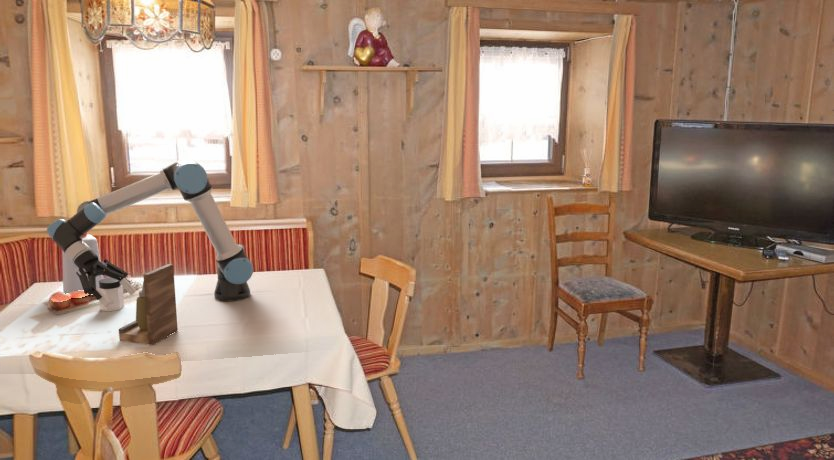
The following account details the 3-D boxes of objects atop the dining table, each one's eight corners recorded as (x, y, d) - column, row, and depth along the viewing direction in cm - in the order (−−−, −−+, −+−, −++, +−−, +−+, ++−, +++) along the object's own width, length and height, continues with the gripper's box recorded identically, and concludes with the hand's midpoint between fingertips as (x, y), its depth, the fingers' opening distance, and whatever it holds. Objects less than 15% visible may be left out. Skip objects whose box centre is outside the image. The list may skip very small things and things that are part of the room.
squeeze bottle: (141, 324, 228) (137, 278, 224) (163, 324, 229) (160, 277, 225) (133, 332, 220) (129, 284, 216) (156, 332, 221) (153, 284, 217)
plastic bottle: (98, 285, 281) (93, 225, 275) (108, 293, 270) (102, 231, 264) (61, 291, 272) (54, 230, 266) (69, 300, 261) (63, 236, 255)
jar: (101, 312, 247) (98, 284, 244) (99, 306, 254) (96, 279, 251) (125, 309, 252) (123, 281, 249) (122, 303, 259) (120, 276, 256)
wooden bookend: (177, 331, 230) (173, 264, 224) (153, 345, 217) (148, 274, 211) (145, 327, 233) (139, 261, 228) (119, 340, 220) (113, 271, 214)
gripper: (101, 253, 238) (138, 294, 238) (49, 271, 214) (90, 316, 214) (111, 241, 235) (149, 282, 235) (61, 257, 212) (102, 303, 212)
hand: (121, 298), depth 225 cm, fingers open, 13 cm apart
